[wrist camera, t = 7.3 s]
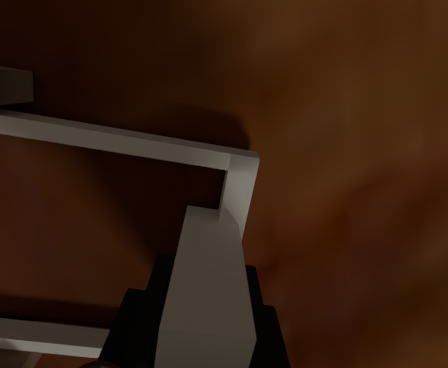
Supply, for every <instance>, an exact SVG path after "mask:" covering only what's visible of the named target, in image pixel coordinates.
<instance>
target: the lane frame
mask: <svg viewBox="0 0 448 368" xmlns="http://www.w3.org/2000/svg"><path fill="white" fill-rule="evenodd" d="M33 101H34V88H33V72H31V71H26V70H20V69H15V68H9V67H4V66H0V105H5V104H15V103H24V102H33ZM42 354H43V353H41V352H32V351H22V350H12V349H2V348H0V368H34V366H35V364H36V363H37V361H38V360H39V358H40V357H41V355H42Z"/></svg>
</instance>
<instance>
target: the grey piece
mask: <svg viewBox="0 0 448 368" xmlns="http://www.w3.org/2000/svg"><path fill="white" fill-rule="evenodd" d="M0 134H5V135H12V136H18V137H24V138H30V139H36V140H43V141H49V142H55V143H61V144H67V145H73V146H80V147H86V148H92V149H98V150H104V151H111V152H117V153H123V154H129V155H135V156H142V157H148V158H154V159H160V160H166V161H173V162H179V163H185V164H191V165H197V166H204V167H210V168H216V169H222V170H226V172H225V177H224V183H223V188H222V193H221V199H220V204H219V209H218V210H216V209H209V208H202V207H196V206H189V205H188V206H187V210H186V214H185V219H184V223H183V227H182V232H181V236H180V240H179V245H178V249H177V253H176V258H175V262H174V267H173V271H172V275H171V280H170V284H169V288H168V293H167V297H166V301H165V306H164V310H163V314H162V319H161V323H160V327H159V334H158V342H157V350H156V357H155V365H154V368H249V365H250V361H251V358H252V354H253V351H254V347H255V343H256V340H257V339H256V332H255V326H254V320H253V313H252V307H251V301H250V294H249V288H248V282H247V275H246V269H245V263H244V256H243V250H242V244H241V241H242V236H243V232H244V228H245V223H246V219H247V214H248V210H249V205H250V201H251V197H252V192H253V188H254V183H255V179H256V174H257V170H258V166H259V161H260V158H259V156H258V154H257V152H254V151H248V150H242V149H236V148H230V147H225V146H219V145H213V144H207V143H201V142H195V141H189V140H183V139H177V138H171V137H165V136H159V135H153V134H147V133H141V132H136V131H130V130H124V129H118V128H112V127H106V126H100V125H94V124H88V123H82V122H76V121H70V120H64V119H58V118H53V117H47V116H41V115H35V114H29V113H23V112H17V111H11V110H5V109H0ZM109 331H110V330H106V329H97V328H88V327H79V326H69V325H60V324H51V323H42V322H33V321H24V320H14V319H5V318H0V348H2V349H12V350H22V351H32V352H41V353H51V354H61V355H71V356H81V357H91V358H98V357H99V355H100V352H101V350H102V348H103V345H104V343H105V341H106V338H107V336H108V334H109Z"/></svg>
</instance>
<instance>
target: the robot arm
mask: <svg viewBox="0 0 448 368" xmlns="http://www.w3.org/2000/svg"><path fill="white" fill-rule="evenodd" d="M174 262H175V260H174V259H173V255H168V254H160V253H159V254H158V256H157V259H156V262H155V265H154V268H153V270H152V273H151V276H150V279H149V282H148V285H147V288H146V290H138V289H130V288H129V289H128V290H127V292H126V294H125V296H124V299H123V301H122V303H121V306H120V308H119V310H118V313H117V315H116V317H115V320H114V322H113V324H112V327H111V329H110V331H109V334H108V336H107V338H106V341H105V343H104V345H103V348H102V350H101V352H100V355H99V357H98V359H97V361H92V362H89V363H86V364H84V365H82V366H81V367H79V368H154V365H155V357H156V350H157V342H158V334H159V327H160V323H161V319H162V314H163V310H164V306H165V301H166V297H167V293H168V288H169V284H170V280H171V275H172V271H173V267H174ZM245 269H246V275H247V282H248V288H249V294H250V301H251V307H252V313H253V320H254V326H255V332H256V339H257V340H256V343H255V347H254V351H253V354H252V358H251V361H250V365H249V368H290V364H289V360H288V356H287V352H286V348H285V345H284V341H283V337H282V333H281V329H280V325H279V321H278V318H277V314H276V310H275V308H274V307H273V306H269V305H263V300H262V296H261V291H260V286H259V281H258V277H257V272H256V268H255V266H250V265H245Z"/></svg>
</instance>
